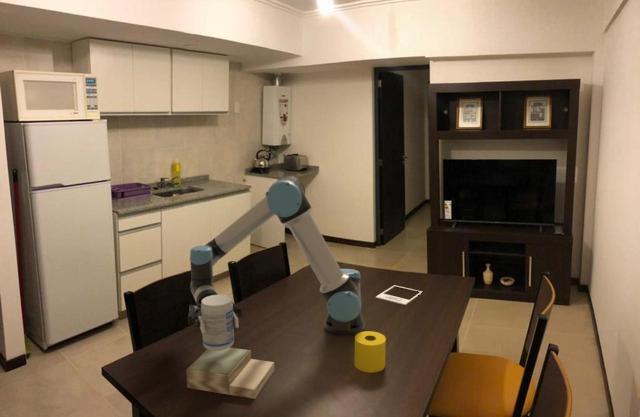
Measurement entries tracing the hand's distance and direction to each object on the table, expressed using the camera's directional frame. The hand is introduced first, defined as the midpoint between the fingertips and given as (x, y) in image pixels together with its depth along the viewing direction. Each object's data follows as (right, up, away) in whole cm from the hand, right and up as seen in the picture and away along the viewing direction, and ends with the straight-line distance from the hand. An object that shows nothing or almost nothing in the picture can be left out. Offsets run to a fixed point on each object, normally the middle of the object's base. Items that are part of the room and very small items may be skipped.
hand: (220, 326), depth 143 cm
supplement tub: (-2, -7, +6) cm, 9 cm away
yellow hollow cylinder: (+46, -17, +15) cm, 51 cm away
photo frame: (+66, -5, +75) cm, 100 cm away
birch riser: (+2, -18, +7) cm, 19 cm away
